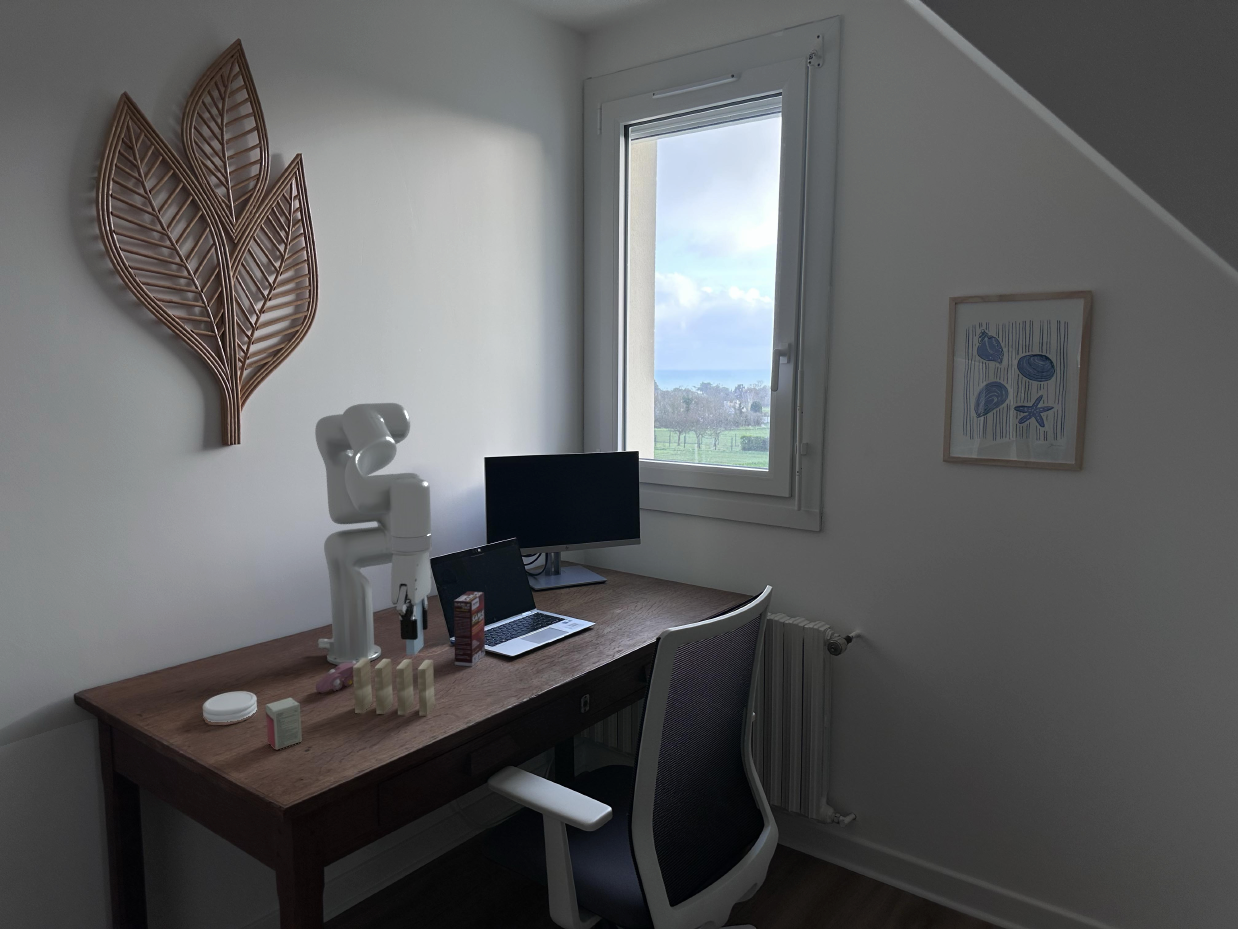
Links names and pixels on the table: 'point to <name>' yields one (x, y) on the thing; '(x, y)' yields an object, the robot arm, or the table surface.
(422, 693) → the domino
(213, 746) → the table surface
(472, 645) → the supplement box
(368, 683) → the domino
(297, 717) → the small box
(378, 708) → the domino
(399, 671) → the domino
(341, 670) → the pink toy car
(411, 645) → the end domino
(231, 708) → the white round lid
